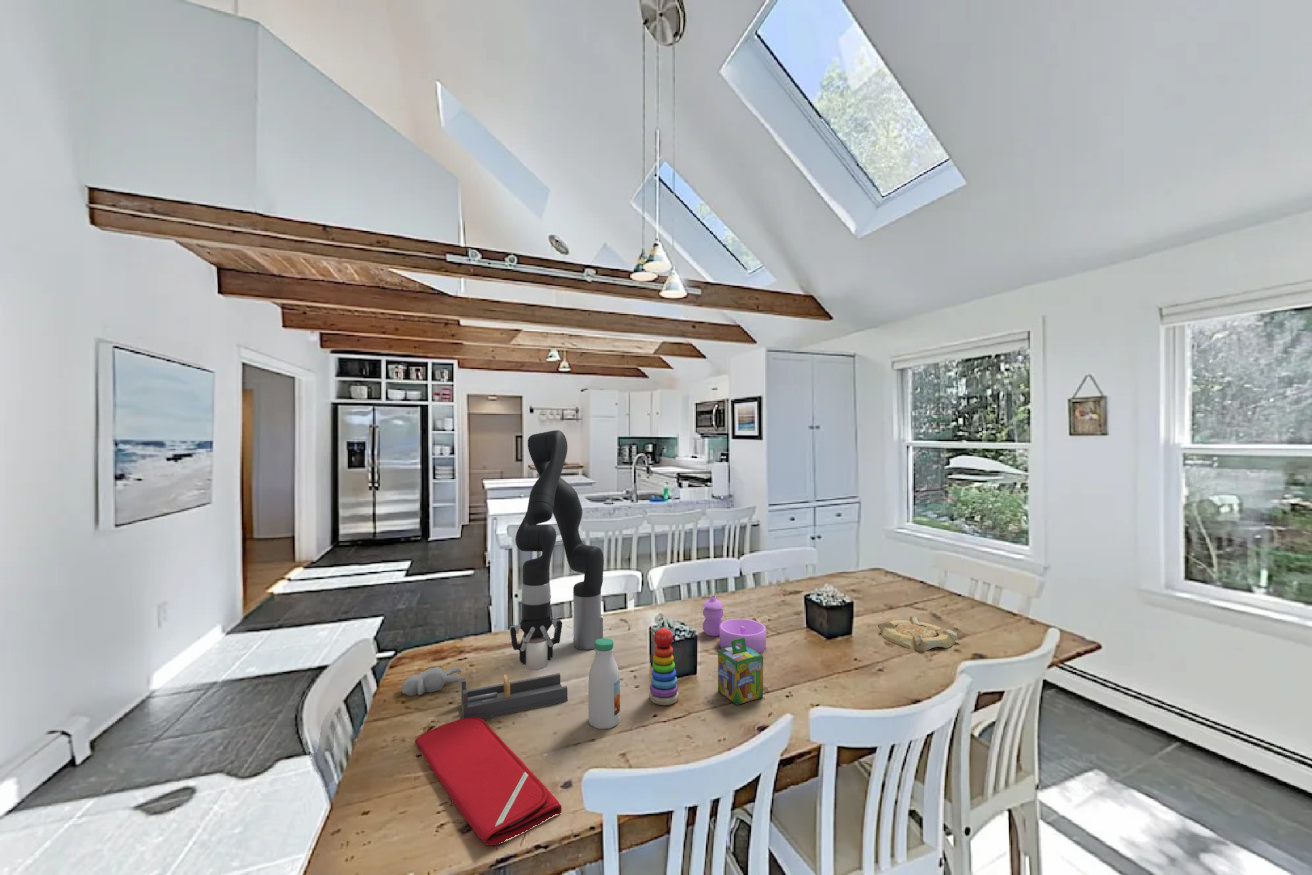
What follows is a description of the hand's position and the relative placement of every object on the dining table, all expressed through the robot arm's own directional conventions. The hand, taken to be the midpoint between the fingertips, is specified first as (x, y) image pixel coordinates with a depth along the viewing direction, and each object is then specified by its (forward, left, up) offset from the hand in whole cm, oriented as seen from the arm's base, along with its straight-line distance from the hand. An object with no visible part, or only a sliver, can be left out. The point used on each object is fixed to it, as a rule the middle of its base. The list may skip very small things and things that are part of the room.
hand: (536, 661), depth 141 cm
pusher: (+13, 0, -9) cm, 15 cm away
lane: (+6, 0, -10) cm, 11 cm away
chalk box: (-51, +20, -10) cm, 56 cm away
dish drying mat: (+16, +27, -11) cm, 34 cm away
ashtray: (-128, +11, -11) cm, 129 cm away
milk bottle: (-13, +18, -10) cm, 25 cm away
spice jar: (0, 0, -1) cm, 1 cm away
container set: (-68, -12, -10) cm, 70 cm away
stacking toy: (-31, +14, -10) cm, 36 cm away
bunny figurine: (+26, -17, -10) cm, 32 cm away
